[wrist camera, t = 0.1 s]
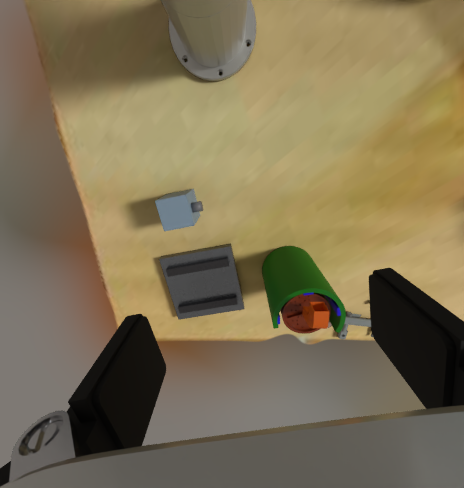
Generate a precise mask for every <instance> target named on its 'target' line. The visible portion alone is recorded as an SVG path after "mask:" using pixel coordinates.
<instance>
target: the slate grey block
mask: <svg viewBox="0 0 464 488" xmlns="http://www.w3.org/2000/svg"><path fill="white" fill-rule="evenodd" d="M155 203H156V206H157V210H158V213H159V216H160V219H161V223H162V226H163V229H164V231H168V230H174V229H179V228H184V227H189V226H194V225H195V223H196V222H197V220H198V218H199V217H200V213H199V211H203V205H202V202H201V201H198V202H197V200H196V196H195V192H194V189H189V190H184V191H179V192H175V193H170V194H166V195H164V196H163V197H161V198H159V199H157V200H156V201H155Z"/></svg>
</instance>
